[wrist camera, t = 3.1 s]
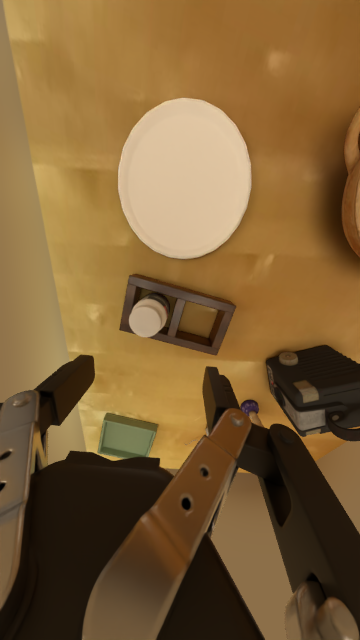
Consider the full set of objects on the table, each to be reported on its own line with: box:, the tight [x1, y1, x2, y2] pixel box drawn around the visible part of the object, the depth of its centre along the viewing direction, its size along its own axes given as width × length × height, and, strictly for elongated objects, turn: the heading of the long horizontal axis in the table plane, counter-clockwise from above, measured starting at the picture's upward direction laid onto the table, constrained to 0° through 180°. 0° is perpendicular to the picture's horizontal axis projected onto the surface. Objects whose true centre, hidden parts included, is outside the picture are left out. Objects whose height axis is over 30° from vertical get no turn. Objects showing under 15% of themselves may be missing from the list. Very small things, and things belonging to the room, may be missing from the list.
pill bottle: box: [129, 293, 170, 337], centre depth 29 cm, size 6×6×10 cm
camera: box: [266, 345, 360, 441], centre depth 30 cm, size 11×14×15 cm
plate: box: [118, 98, 251, 259], centre depth 26 cm, size 21×21×1 cm
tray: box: [98, 413, 157, 459], centre depth 44 cm, size 13×12×2 cm
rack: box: [120, 274, 236, 355], centre depth 32 cm, size 10×19×4 cm, turn 74°
